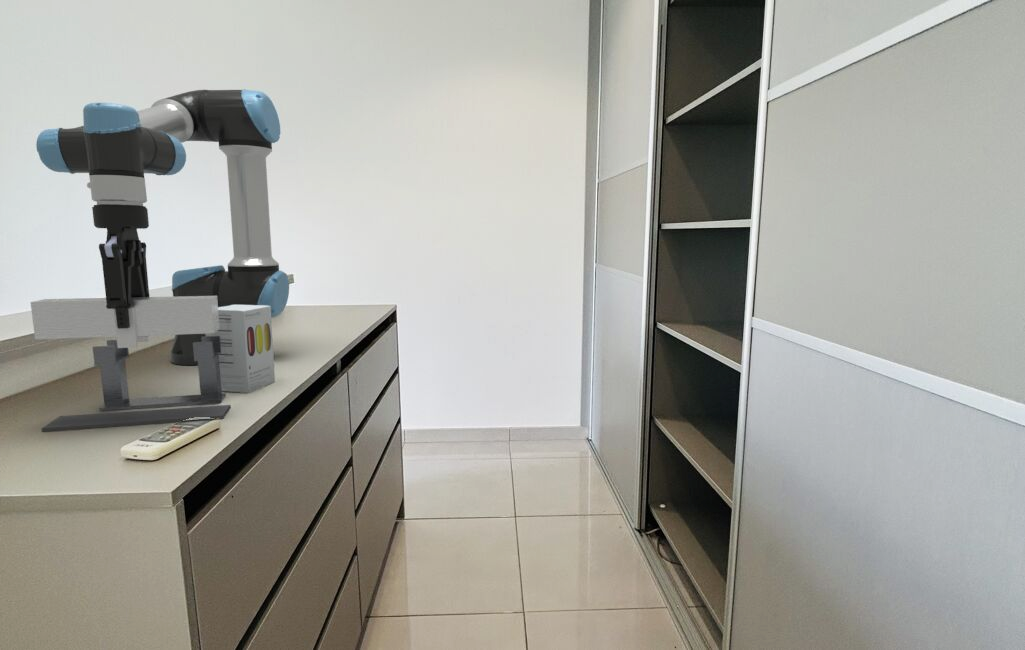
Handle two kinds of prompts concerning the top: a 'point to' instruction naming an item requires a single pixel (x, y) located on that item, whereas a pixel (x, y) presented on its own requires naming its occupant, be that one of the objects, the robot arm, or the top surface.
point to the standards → (118, 397)
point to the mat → (134, 418)
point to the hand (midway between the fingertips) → (133, 344)
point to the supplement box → (245, 347)
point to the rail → (100, 322)
